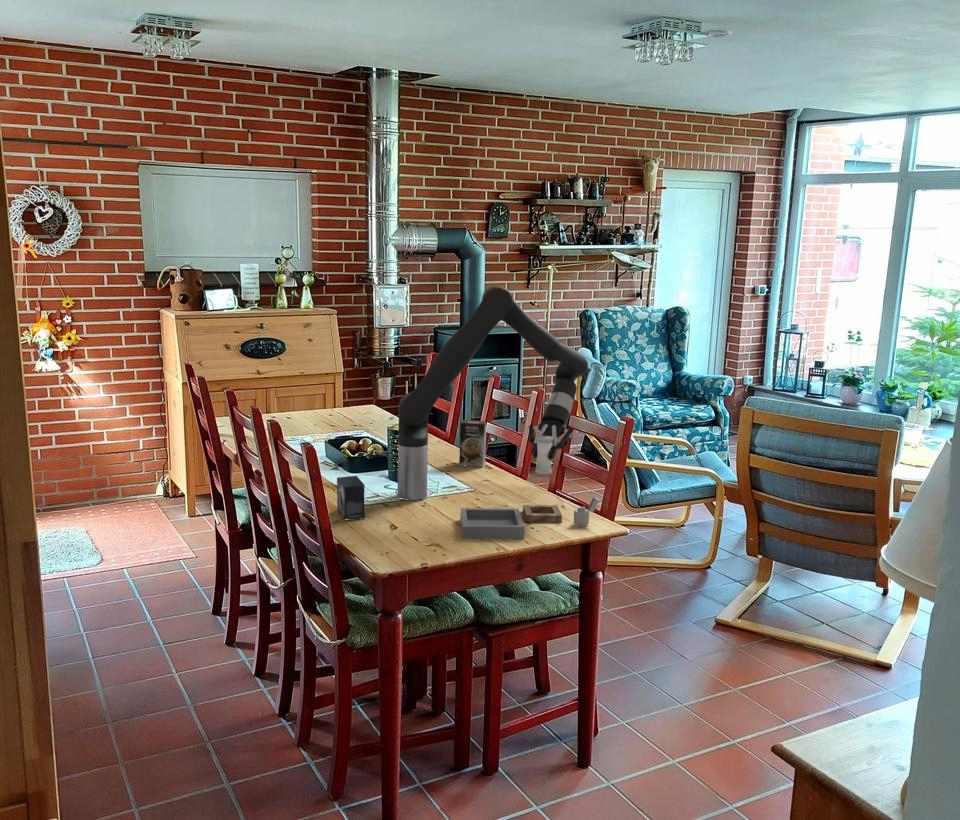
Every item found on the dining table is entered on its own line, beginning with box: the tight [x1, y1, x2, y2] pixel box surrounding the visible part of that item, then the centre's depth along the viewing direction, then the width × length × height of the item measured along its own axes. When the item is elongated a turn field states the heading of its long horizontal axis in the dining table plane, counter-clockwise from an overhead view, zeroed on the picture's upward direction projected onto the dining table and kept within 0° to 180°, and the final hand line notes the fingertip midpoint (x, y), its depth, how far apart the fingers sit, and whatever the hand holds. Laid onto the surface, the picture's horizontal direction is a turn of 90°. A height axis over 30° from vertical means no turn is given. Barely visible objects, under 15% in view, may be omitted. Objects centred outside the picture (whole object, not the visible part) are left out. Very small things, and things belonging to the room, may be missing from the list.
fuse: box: [535, 434, 553, 476], centre depth 262 cm, size 5×5×11 cm
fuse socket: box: [522, 504, 563, 523], centre depth 265 cm, size 10×10×2 cm
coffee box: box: [458, 419, 487, 467], centre depth 322 cm, size 9×6×16 cm
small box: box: [336, 475, 366, 520], centre depth 261 cm, size 11×6×10 cm, turn 21°
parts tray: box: [460, 507, 526, 540], centre depth 252 cm, size 17×17×4 cm
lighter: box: [573, 496, 600, 526], centre depth 258 cm, size 7×2×8 cm, turn 105°
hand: (542, 457), depth 260 cm, fingers closed on fuse, 4 cm apart
